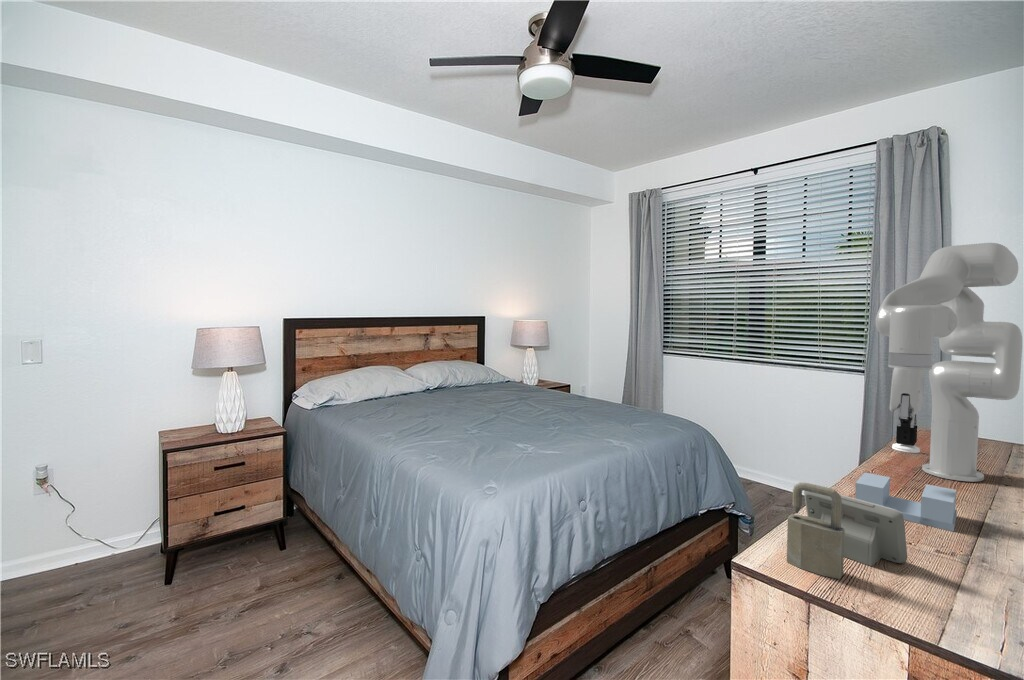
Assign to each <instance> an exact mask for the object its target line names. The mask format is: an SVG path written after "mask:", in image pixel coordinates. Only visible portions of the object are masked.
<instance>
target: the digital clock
mask: <svg viewBox="0 0 1024 680" xmlns="http://www.w3.org/2000/svg"><path fill="white" fill-rule="evenodd" d="M838 494H839V495H840V496H841V500H842V509H841V527H844V528H845V534H844V558H846V559H849V560H852V561H855V562H858V563H861V564H863V565H866V566H868V567H873V566H874V565H875V564H876V563H878V562H879V561H880V560H881V559H882V560H886V561H889V562H893V563H895V564H896V563H897V564H904V563H907V560H908V550H907V549H908V548H907V539H906V536H907V535H906V528H905V520H904V517H903V515H902V514H901V513H900V512H899V511H898V510H896V509H892V508H889V507H885V506H882V505H878V504H874V503H871V502H867V501H863V500H859V499H856V498H855V497H852V496H847V495H844V494H841V493H838ZM803 495H804V502H805V508H806V509H805V511H806V516H808V517H812V518H816V519H819V520H823V521H827V522H830V523H831V509H832V498H831V497H830V496H826V495H821V494H817V493H813V492H808V491H804V490H803Z"/></svg>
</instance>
